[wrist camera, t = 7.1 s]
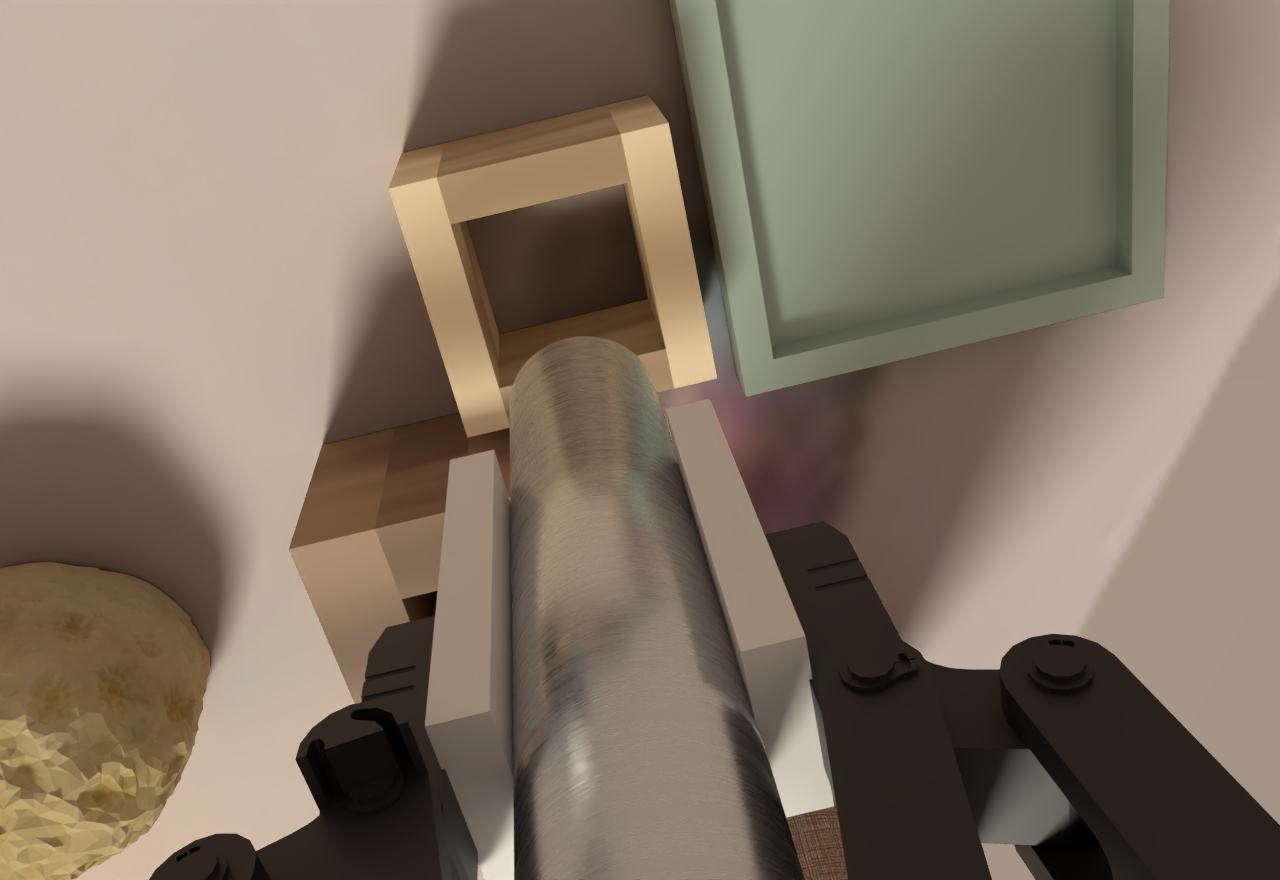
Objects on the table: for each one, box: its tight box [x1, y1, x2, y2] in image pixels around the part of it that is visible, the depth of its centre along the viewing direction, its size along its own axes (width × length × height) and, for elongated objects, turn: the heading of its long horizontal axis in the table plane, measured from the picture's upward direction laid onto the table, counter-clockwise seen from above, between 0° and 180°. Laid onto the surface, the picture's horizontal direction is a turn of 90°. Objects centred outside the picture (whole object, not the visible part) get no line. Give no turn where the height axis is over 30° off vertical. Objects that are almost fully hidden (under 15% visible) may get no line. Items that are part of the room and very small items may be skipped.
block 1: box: [289, 413, 510, 704], centre depth 33 cm, size 7×7×6 cm
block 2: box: [389, 95, 717, 438], centre depth 30 cm, size 7×7×4 cm
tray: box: [669, 0, 1170, 397], centre depth 31 cm, size 13×13×2 cm
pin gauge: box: [509, 336, 805, 880], centre depth 16 cm, size 3×3×14 cm
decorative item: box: [0, 562, 210, 880], centre depth 34 cm, size 10×10×10 cm
